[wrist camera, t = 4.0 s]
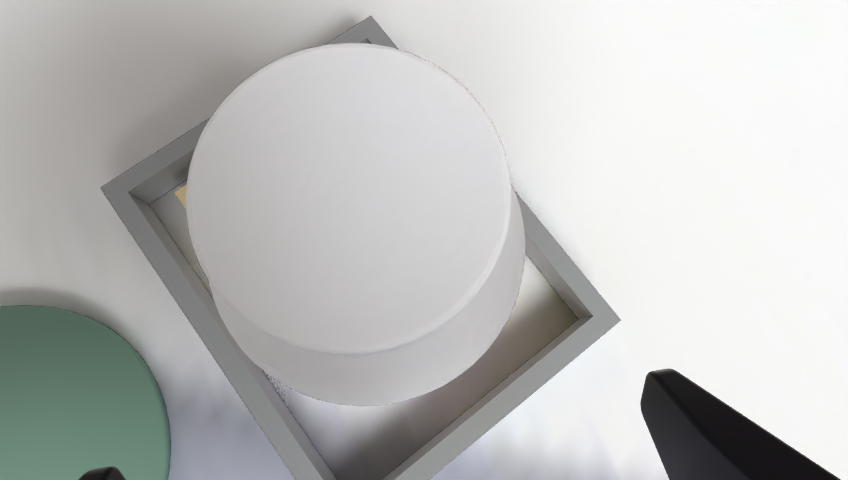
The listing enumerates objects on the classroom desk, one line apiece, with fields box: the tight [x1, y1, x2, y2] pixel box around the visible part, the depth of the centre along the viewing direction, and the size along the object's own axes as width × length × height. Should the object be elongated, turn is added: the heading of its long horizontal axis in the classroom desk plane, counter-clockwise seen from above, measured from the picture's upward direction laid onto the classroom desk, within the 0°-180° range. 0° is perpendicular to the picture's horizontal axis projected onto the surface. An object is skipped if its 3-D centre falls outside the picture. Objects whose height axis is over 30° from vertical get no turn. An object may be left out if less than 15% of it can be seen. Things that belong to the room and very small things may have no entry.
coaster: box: [0, 305, 171, 480], centre depth 18 cm, size 11×11×1 cm
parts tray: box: [100, 16, 621, 480], centre depth 19 cm, size 15×12×2 cm
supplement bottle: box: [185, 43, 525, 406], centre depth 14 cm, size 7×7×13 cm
